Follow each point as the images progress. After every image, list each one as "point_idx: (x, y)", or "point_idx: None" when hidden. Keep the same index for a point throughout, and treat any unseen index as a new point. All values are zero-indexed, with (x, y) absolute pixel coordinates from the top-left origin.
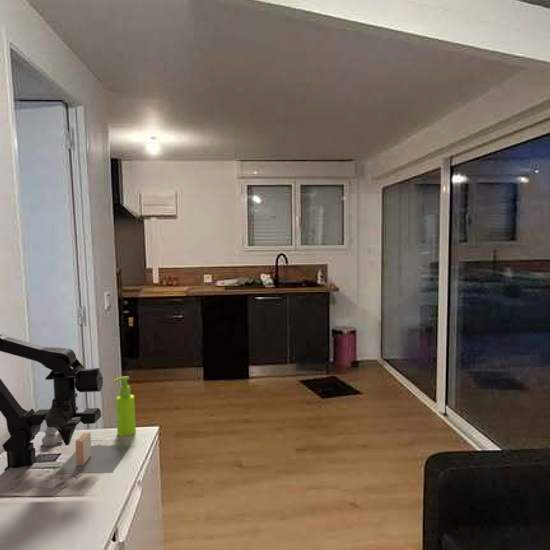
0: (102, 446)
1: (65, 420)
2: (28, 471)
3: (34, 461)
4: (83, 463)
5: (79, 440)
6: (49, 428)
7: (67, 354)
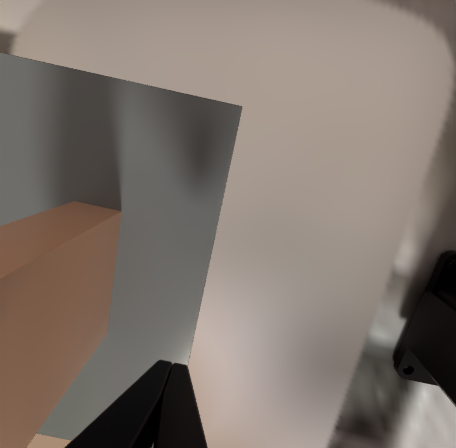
0: None
1: None
2: (427, 238)
3: (412, 330)
4: (68, 204)
5: None
6: None
7: None
